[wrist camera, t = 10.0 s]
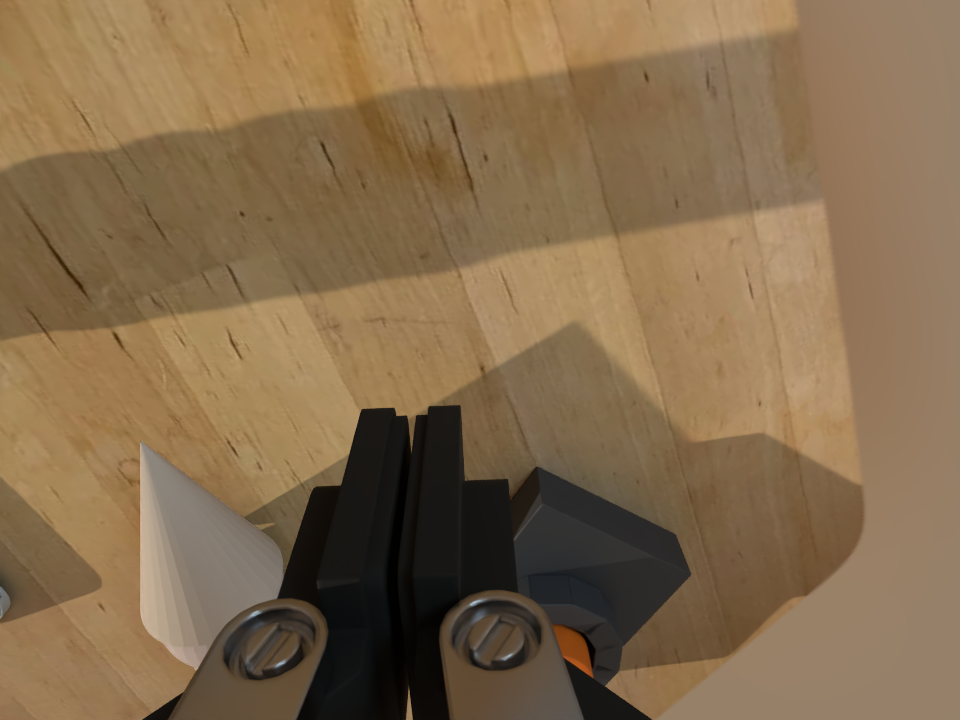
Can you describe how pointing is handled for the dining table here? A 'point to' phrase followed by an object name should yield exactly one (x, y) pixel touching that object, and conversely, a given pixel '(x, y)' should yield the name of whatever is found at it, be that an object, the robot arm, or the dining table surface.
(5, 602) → the smartphone
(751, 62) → the dining table surface
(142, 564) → the ice cream cone
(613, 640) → the control block
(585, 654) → the button
